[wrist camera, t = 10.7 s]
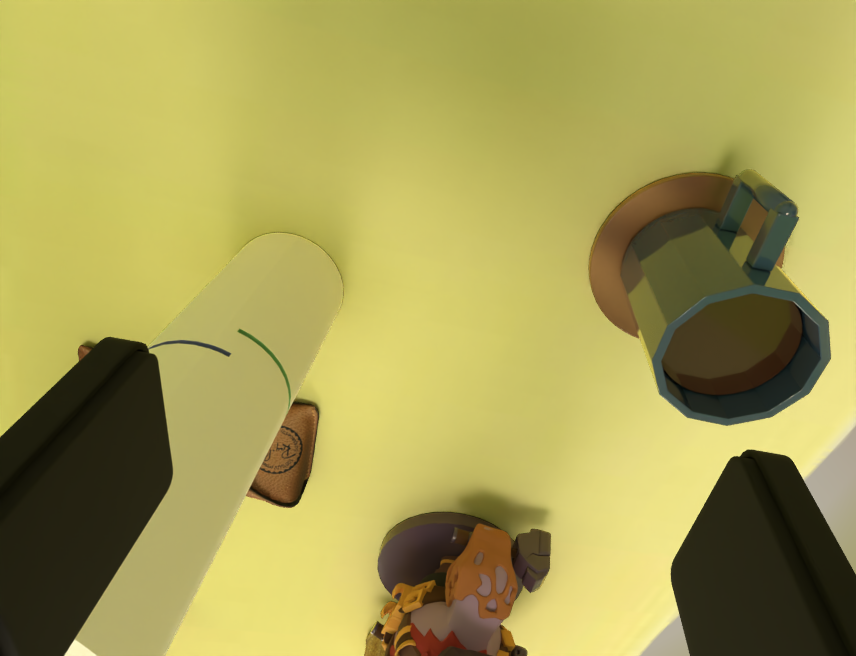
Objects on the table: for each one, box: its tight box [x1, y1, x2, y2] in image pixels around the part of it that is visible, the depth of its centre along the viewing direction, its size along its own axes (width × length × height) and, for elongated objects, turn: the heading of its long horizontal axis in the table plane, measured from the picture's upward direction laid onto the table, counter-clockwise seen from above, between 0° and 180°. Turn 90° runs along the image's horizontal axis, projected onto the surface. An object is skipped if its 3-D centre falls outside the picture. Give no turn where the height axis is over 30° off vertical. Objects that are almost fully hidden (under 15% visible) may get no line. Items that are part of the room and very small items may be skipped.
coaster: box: [589, 173, 785, 339], centre depth 34 cm, size 10×10×1 cm
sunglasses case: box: [78, 345, 319, 508], centre depth 44 cm, size 18×7×7 cm
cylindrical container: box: [64, 232, 343, 656], centre depth 28 cm, size 7×7×25 cm
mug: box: [620, 169, 831, 426], centre depth 29 cm, size 10×7×10 cm
